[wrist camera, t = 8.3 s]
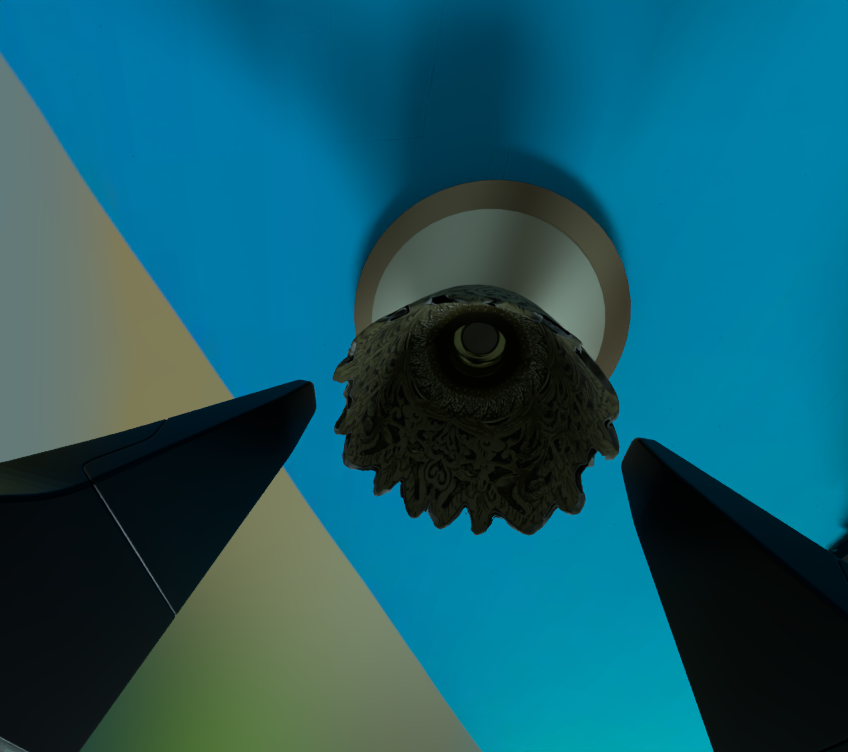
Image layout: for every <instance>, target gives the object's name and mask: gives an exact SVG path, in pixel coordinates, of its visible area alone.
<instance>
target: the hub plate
mask: <svg viewBox="0 0 848 752" xmlns="http://www.w3.org/2000/svg"><path fill="white" fill-rule="evenodd" d="M475 284H481V285H491V286H496V287H500V288H504V289H507V290H510V291H513V292H515V293H517V294H519V295H522V296H524V297H525V298H527V299H529V300H530V301H532V302H533V303H535V304H536V305H538V306H539V307H540V308H541V309H543V310H544V311H545V312H546V313H548V314H549V315H550V316H551V317H552V318H553V319H554V320H556V321H557V322H558V323H559V324H560V325H561V326H562V327H563V328H564V329H566V330H567V331H569V332H570V333H571V334H573V335H574V336H576V337H577V338H578V339H579V340H580V341H581V342H582V344H583V345H581V346H582V347H583V348H584V349H585V350H586V352H587V353H588V354H589V355H590V357H591V358H592V359H593V360H594V361H595V362H596V363H597V364H598V365H599V367H600V368H601V370H602V371H603V373H604V374H605V376H606V377H607V379H609V378H610V376H611V375H612V373H613V372H614V370H615V368H616V366H617V364H618V362H619V360H620V358H621V355H622V352H623V349H624V346H625V343H626V340H627V336H628V330H629V324H630V309H631V300H630V292H629V285H628V280H627V276H626V273H625V270H624V266H623V263H622V261H621V259H620V257H619V255H618V253H617V251H616V249H615V247H614V245H613V243H612V242H611V240H610V239H609V237H608V236H607V235H606V233H605V232H604V230H603V229H602V228H601V226H600V225H599V224H598V223H597V222H596V221H595V220H593V219H592V218H591V217H590V216H589V215H588V214H587V213H586V212H585V211H584V210H583V209H581V208H580V207H578V206H577V205H575V204H574V203H573V202H571V201H570V200H568V199H567V198H565V197H562V196H560V195H558V194H556V193H554V192H552V191H550V190H548V189H545V188H542V187H538V186H535V185H532V184H528V183H523V182H516V181H508V180H482V181H476V182H470V183H464V184H460V185H456V186H453V187H450V188H447V189H444V190H441V191H439V192H437V193H435V194H433V195H431V196H429V197H427V198H425V199H423V200H421V201H420V202H418V203H417V204H415V205H414V206H412V207H411V208H409V209H408V210H407V211H405V212H404V213H403V214H402V215H401V216H400V217H399V218H397V219H396V220H395V221H394V222H393V223H392V224H391V225H390V226H389V227H388V229H387V230H386V231H385V232H384V233H383V235H382V236H381V237H380V238H379V240H378V241H377V243H376V244H375V246H374V248H373V249H372V251H371V253H370V254H369V256H368V258H367V261H366V263H365V265H364V268H363V270H362V273H361V276H360V279H359V283H358V286H357V292H356V298H355V312H354V321H355V331H356V336H357V335H358V334H360V333H361V332H362V331H363V330H364V329H365V328H367V327H368V326H369V325H370V324H372V323H373V322H375V321H377V320H378V319H380V318H382V317H384V316H386V315H389V314H391V313H393V312H394V311H396V310H398V309H400V308H402V307H404V306H406V305H408V304H411V303H413V302H415V301H417V300H419V299H421V298H423V297H426V296H428V295H430V294H433V293H435V292H438V291H441V290H444V289H447V288H451V287H455V286H461V285H475ZM463 342H464V344H465V346H466V348H467V349H468V350H470V351H471V352H473V353H477V354H483V353H487V352H489V351H491V350H492V349H493V348H494V346H495V345H496V342H497V333H496V331H495V329H494V328H493V327H492V326H491V325H488V324H485V323H472V324H471V325H469V326H468V327H467V328H466V329H465V331H464V334H463Z"/></svg>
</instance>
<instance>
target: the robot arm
mask: <svg viewBox="0 0 848 752" xmlns="http://www.w3.org/2000/svg"><path fill="white" fill-rule="evenodd" d="M315 410H316V398H315V390H314V385H313V383H312V382H310V381H305V380H296V381H292V382H289V383H286V384H282V385H279V386H275V387H272V388H269V389H265V390H262V391H259V392H255V393H252V394H248V395H245V396H242V397H238V398H235V399H232V400H228V401H225V402H221V403H218V404H215V405H211V406H208V407H205V408H202V409H198V410H194V411H191V412H188V413H184V414H181V415H178V416H174V417H171V418H168V419H167V420H165V419H164V420H161V421H158V422H154V423H151V424H147V425H144V426H140V427H136V428H133V429H129V430H126V431H123V432H119V433H115V434H111V435H108V436H104V437H100V438H96V439H92V440H89V441H85V442H81V443H77V444H73V445H69V446H65V447H61V448H57V449H54V450H50V451H45V452H41V453H37V454H33V455H30V456H26V457H22V458H18V459H14V460H10V461H6V462H1V463H0V752H4V751H5V750H6V749H7V748H8V749H10V750H12V751H15V752H80V750H81V749H82V747H83V746H84V745H85V743H86V742H87V740H88V739H89V738H90V736H91V735H92V733H93V732H94V730H95V729H96V728H97V726H98V725H99V723H100V722H101V721H102V719H103V718H104V716H105V715H106V714H107V712H108V711H109V709H110V708H111V706H112V705H113V704H114V702H115V701H116V700H117V698H118V697H119V695H120V694H121V693H122V691H123V690H124V688H125V687H126V686H127V684H128V683H129V681H130V680H131V678H132V677H133V676H134V674H135V673H136V671H137V670H138V669H139V667H140V666H141V664H142V663H143V662H144V660H145V659H146V657H147V656H148V654H149V653H150V652H151V650H152V649H153V648H154V646H155V645H156V643H157V642H158V641H159V639H160V638H161V636H162V635H163V633H164V632H165V631H166V629H167V628H168V627H169V625H170V624H171V622H172V621H173V620H174V618H175V615H176V614H177V613H178V612H179V611H180V609H181V608H182V606H183V605H184V604H185V602H186V601H187V599H188V598H189V597H190V595H191V594H192V592H193V591H194V590H195V588H196V587H197V585H198V584H199V583H200V581H201V580H202V578H203V577H204V576H205V574H206V573H207V571H208V570H209V568H210V567H211V566H212V564H213V563H214V562H215V560H216V559H217V557H218V556H219V554H220V553H221V552H222V550H223V549H224V547H225V546H226V545H227V543H228V542H229V540H230V539H231V538H232V536H233V535H234V533H235V532H236V531H237V529H238V528H239V526H240V525H241V524H242V522H243V521H244V519H245V518H246V517H247V515H248V514H249V512H250V511H251V510H252V508H253V507H254V505H255V504H256V503H257V501H258V500H259V498H260V497H261V496H262V494H263V493H264V491H265V490H266V489H267V487H268V486H269V484H270V483H271V482H272V480H273V479H274V477H275V475H276V474H277V473H278V472H279V470H280V469H281V467H282V466H283V465H284V463H285V462H286V460H287V459H288V458H289V456H290V455H291V453H292V452H293V450H294V448H295V447H296V445H297V443H298V441H299V439H300V438H301V436H302V434H303V432H304V431H305V429H306V427H307V425H308V423H309V422H310V420H311V418H312V416H313V415H314V413H315ZM621 469H622V474H623V479H624V483H625V487H626V492H627V496H628V501H629V505H630V509H631V514H632V518H633V522H634V525H635V528H636V531H637V534H638V537H639V540H640V543H641V546H642V549H643V552H644V554H645V557H646V560H647V563H648V566H649V569H650V571H651V574H652V577H653V580H654V583H655V586H656V589H657V591H658V594H659V597H660V600H661V603H662V606H663V609H664V611H665V614H666V617H667V620H668V623H669V626H670V629H671V631H672V634H673V637H674V640H675V643H676V646H677V648H678V651H679V654H680V657H681V660H682V663H683V666H684V668H685V671H686V674H687V677H688V680H689V683H690V686H691V688H692V691H693V694H694V697H695V700H696V703H697V705H698V708H699V711H700V714H701V717H702V720H703V723H704V725H705V728H706V731H707V734H708V737H709V740H710V743H711V745H712V748H713V751H714V752H848V541H847V542H846V543H845V544H843V545H842V546H841V547H840V548H839V549H838V550H836V551H835V552H834V553H833V554H832V553H831V552H829V551H828V550H826V549H824V548H823V547H821V546H820V545H818V544H817V543H815V542H813V541H812V540H810V539H809V538H807V537H806V536H804V535H802V534H801V533H799V532H798V531H796V530H795V529H793V528H791V527H790V526H788V525H787V524H785V523H784V522H782V521H780V520H779V519H777V518H776V517H774V516H773V515H771V514H770V513H768V512H766V511H765V510H763V509H762V508H760V507H759V506H757V505H755V504H754V503H752V502H751V501H749V500H748V499H746V498H744V497H743V496H741V495H740V494H738V493H737V492H735V491H733V490H732V489H730V488H729V487H727V486H726V485H724V484H722V483H721V482H719V481H718V480H716V479H715V478H713V477H711V476H710V475H708V474H707V473H705V472H704V471H702V470H700V469H699V468H697V467H696V466H694V465H693V464H691V463H690V462H688V461H686V460H685V459H683V458H682V457H680V456H679V455H677V454H675V453H674V452H672V451H671V450H669V449H668V448H666V447H664V446H663V445H661V444H660V443H658V442H657V441H655V440H651V439H645V438H635V439H634V440H633V441H632V442H631V444H630V446H629V448H628V450H627V452H626V454H625V456H624V458H623V461H622V465H621Z"/></svg>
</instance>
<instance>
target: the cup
mask: <svg viewBox="0 0 848 752" xmlns="http://www.w3.org/2000/svg"><path fill="white" fill-rule="evenodd" d="M472 323H485V324H488V325H491V326H492V327H493V328H494V329H495V331H496V333H497V342H496V345H495V346H494V348H493V349H492V350H491V351H489V352H487V353H483V354H477V353H473V352H471V351H470V350H468V349H467V348H466V346H465V344H464V342H463V334H464V331H465V329H466V328H467V327H468V326H469V325H471V324H472ZM581 345H583V344H582V342H581V341H580V340H579V339H578V338H577V337H576V336H574V335H573V334H571V333H570V332H569V331H567V330H566V329H564V328H563V327H562V326H561V325H560V324H559V323H558V322H557V321H556V320H554V319H553V318H552V317H551V316H550V315H549V314H548V313H546V312H545V311H544V310H543V309H541V308H540V307H539V306H538V305H536V304H535V303H533V302H532V301H530V300H529V299H527V298H525V297H524V296H522V295H519V294H517V293H515V292H513V291H510V290H507V289H504V288H500V287H496V286H491V285H481V284H475V285H461V286H455V287H451V288H447V289H444V290H441V291H438V292H435V293H433V294H430V295H428V296H426V297H423V298H421V299H419V300H417V301H415V302H413V303H411V304H408V305H406V306H404V307H402V308H400V309H398V310H396V311H394V312H393V313H391V314H389V315H386V316H384V317H382V318H380V319H378V320H377V321H375V322H373V323H372V324H370V325H369V326H368V327H367V328H365V329H364V330H363V331H362V332H361V333H360V334H358V335H357V336H356V338H355V339H354V340H353V342H352V344H351V348H350V349H349V351H348V356H347V358H345V359H344V360H343V361H342V362H341V363H339V365H338V367H337V368H336V370H335V373H334V376H333V380H334V381H337V382H340V383H344V382H345V381H347V386H346V389H345V391H344V393H343V395H344V397H345V399H346V406H345V408H344V409H343V413H342V415H341V416H340V418H339V419H338V421H337V422H336V424H335V427H334V429H335V434H342V435H346V440H345V444H344V451H343V454H342V457H343V463H344V465H346V466H347V467H348V468H350V469H358V470H362V471H364V470H366V471H369V470H373V471H376V475H375V478H374V481H373V482H374V490H373V492H374V495H375V496H380V495H383V494H384V493H387V492H389V491H391V489H392V488H393V486H394V485H396V484H397V483H398V482H401V485H400V494H401V497H402V498H403V499H404V504H405V507H406V511H407V513H408V515H409V516H410V517H411V518H417V517H419V516H420V515H421V513H422V512H423V511H425V512H426V511H428V513H429V516H430V517H431V519H432V521H433V523H434V525H435V527H437V528H438V529H442V528H445V527H447V526H448V525H450V524H451V523H452V522H453V521H454V520H455V519H456V518H457V517H458V516H459V515H460V514H461V512H462V510H463V509H464V508H467V510H468V513H469V515H470V518H471V519H470V520H471V531H472V532H473V533H474V534H475V535H479V534H482V533H484V532H486V530H487V529H488V527H489V526H490V525H491V524H492V521H493V519H492V517H493V516H494V517H493V518H495V517H497V518H501V517H502V518H501V519H505V520H506V521H507V524H508V525H509V526H510V527H512V528H513V529H515V530H517V531H518V532H520V533H523V534H526V535H532V534H534V533H535V532H537V531H538V530H539V529H540V528H542V527H543V526H544V525H545V523H546V522H547V521H548V519H549V518H550V517H551V516H552V514H553V512H554V511H555V510H556V509H557V508H559V509H560V510H562V511H563V512H566V513H567V514H570V515H575V514H579V513H580V512H581V510H582V508H583V506H584V503H585V494H584V492H583V487H582V483H581V482H582V481H581V474H582V473H583V471H584V470H585V468H586V467H592V466H594V456H595V454H596V453H597V451H599V452H600V453H601V455H602V456H606V458H605V459H606V460H613V459H614V458H615V457H616V456H617V454H618V453H619V441H618V437H617V434H616V431H615V428H614V426H613V424H612V422H613V421H614V420H616V419H617V417H618V414H619V401H618V397H617V394H616V392H615V390H614V388H613V387H612V385H611V383H610V382H609V380H608V379H607V377H606V376H605V374H604V373H603V371H602V370H601V368H600V367H599V365H598V364H597V363H596V362H595V361H594V360H593V359H592V358H591V357H590V355H589V354H588V353H587V352H586V350H585V349H584V348H583V347H582V346H581ZM427 509H428V510H427ZM465 514H467V513H465ZM495 515H496V516H495ZM499 516H500V517H499ZM491 519H492V520H491Z"/></svg>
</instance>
